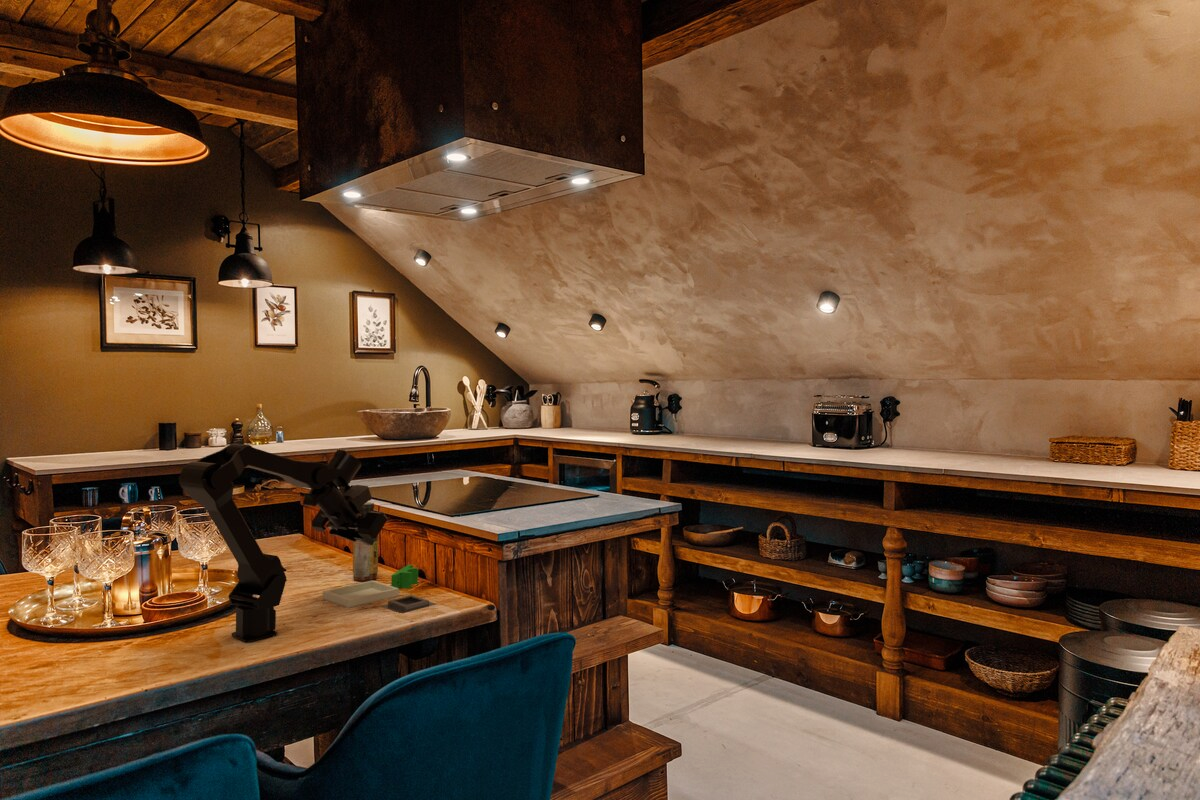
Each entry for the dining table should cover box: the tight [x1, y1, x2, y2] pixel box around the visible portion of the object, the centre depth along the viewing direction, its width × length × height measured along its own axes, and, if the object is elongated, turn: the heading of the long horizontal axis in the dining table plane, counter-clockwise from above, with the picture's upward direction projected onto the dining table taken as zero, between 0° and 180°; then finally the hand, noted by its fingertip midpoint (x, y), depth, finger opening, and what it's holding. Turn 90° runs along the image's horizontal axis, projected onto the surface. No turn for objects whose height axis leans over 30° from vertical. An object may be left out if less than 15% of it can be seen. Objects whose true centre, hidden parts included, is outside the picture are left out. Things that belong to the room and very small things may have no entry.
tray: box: [322, 579, 400, 609], centre depth 177 cm, size 14×11×2 cm
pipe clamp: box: [390, 564, 419, 590], centre depth 188 cm, size 11×4×5 cm, turn 173°
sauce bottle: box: [352, 501, 379, 582], centre depth 195 cm, size 6×6×20 cm
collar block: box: [379, 594, 437, 614], centre depth 172 cm, size 10×8×1 cm
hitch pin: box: [353, 528, 370, 577], centre depth 177 cm, size 4×4×14 cm
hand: (366, 542), depth 178 cm, fingers closed on hitch pin, 3 cm apart
